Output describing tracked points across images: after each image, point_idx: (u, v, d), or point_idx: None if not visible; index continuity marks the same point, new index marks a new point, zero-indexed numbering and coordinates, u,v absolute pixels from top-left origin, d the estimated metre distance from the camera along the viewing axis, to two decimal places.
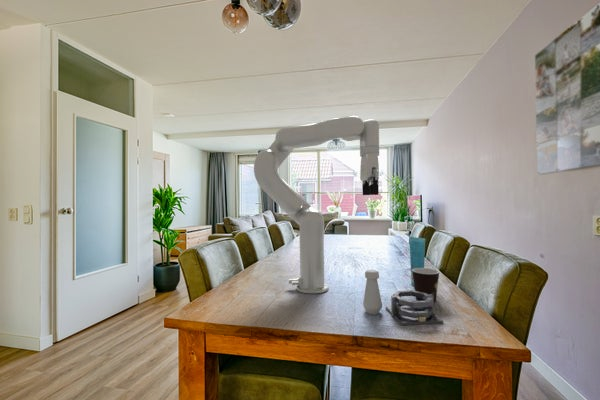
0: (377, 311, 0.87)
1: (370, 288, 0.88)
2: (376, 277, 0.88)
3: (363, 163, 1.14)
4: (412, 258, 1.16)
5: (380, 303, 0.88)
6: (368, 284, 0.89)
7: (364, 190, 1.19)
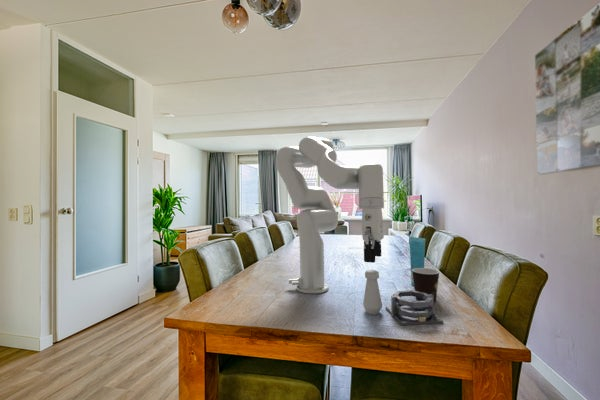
0: (377, 311, 0.87)
1: (370, 288, 0.88)
2: (376, 277, 0.88)
3: (381, 218, 0.89)
4: (412, 258, 1.16)
5: (380, 303, 0.88)
6: (368, 284, 0.88)
7: None
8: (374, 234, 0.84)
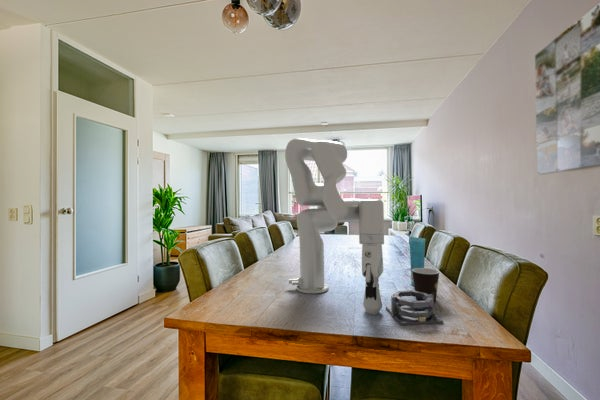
0: (377, 311, 0.87)
1: None
2: None
3: (381, 253, 0.89)
4: (412, 258, 1.16)
5: (380, 303, 0.88)
6: None
7: None
8: (374, 271, 0.84)
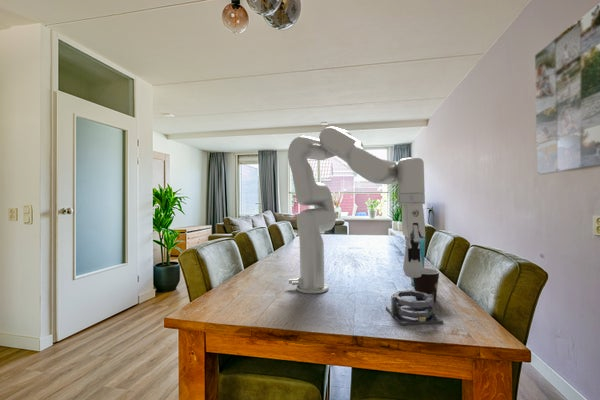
0: (420, 273, 0.84)
1: None
2: (419, 238, 0.84)
3: None
4: None
5: (422, 265, 0.85)
6: None
7: None
8: (422, 231, 0.81)
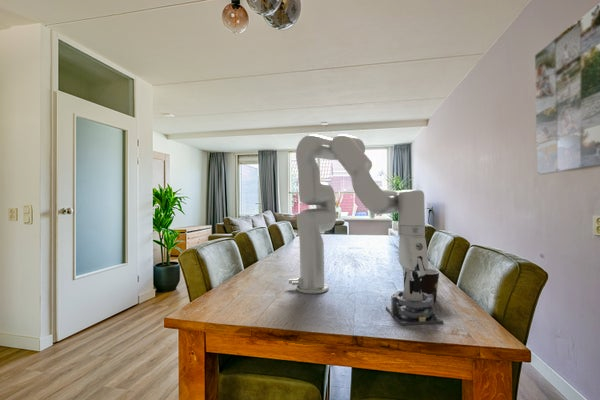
0: None
1: None
2: None
3: None
4: None
5: (422, 296, 0.86)
6: None
7: None
8: (425, 264, 0.81)
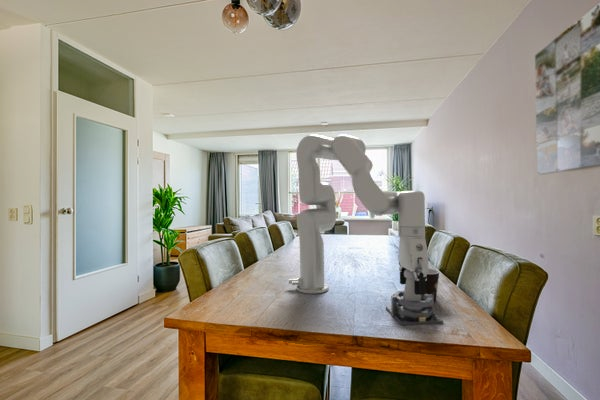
0: None
1: None
2: None
3: None
4: None
5: None
6: (411, 284, 0.85)
7: None
8: (425, 265, 0.81)
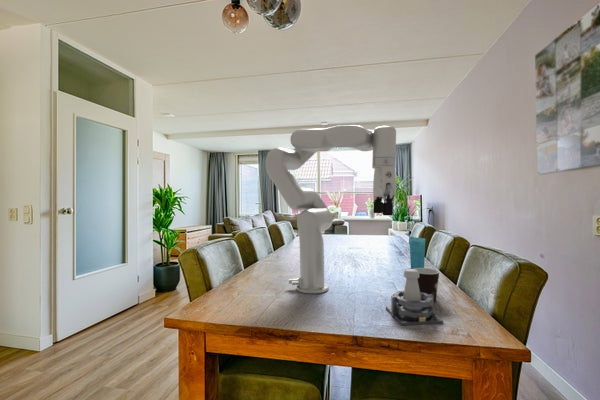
0: None
1: (414, 288, 0.85)
2: (418, 276, 0.85)
3: None
4: (412, 258, 1.16)
5: None
6: (411, 284, 0.85)
7: None
8: (393, 190, 0.93)
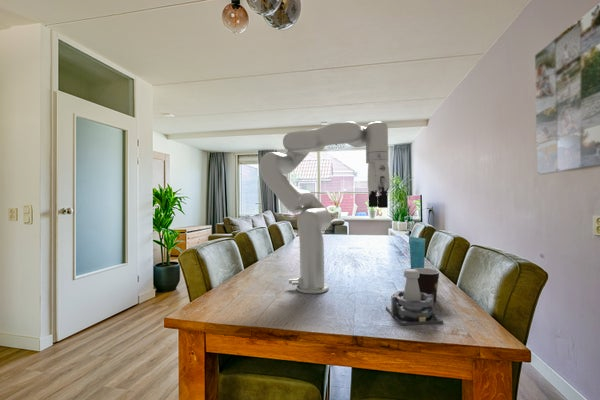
0: None
1: (414, 288, 0.85)
2: (418, 276, 0.85)
3: None
4: (412, 258, 1.16)
5: None
6: (411, 284, 0.85)
7: None
8: (387, 183, 0.96)
